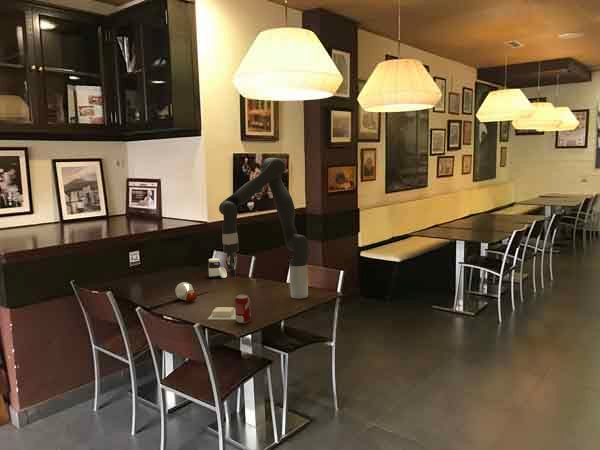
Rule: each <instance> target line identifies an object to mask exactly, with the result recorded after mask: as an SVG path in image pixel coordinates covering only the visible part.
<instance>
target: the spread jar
mask: <svg viewBox="0 0 600 450" xmlns="http://www.w3.org/2000/svg"><path fill="white" fill-rule="evenodd" d="M221 265H222V264H221V261H220V258H218V257H213V258H209V259H208V277H209V278H210V279H219V278H218V277H220V278H221V279H226V278H227V277H228V273H227V270H226V268H225V267H223V266H221Z"/></svg>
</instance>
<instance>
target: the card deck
mask: <svg viewBox="0 0 600 450" xmlns="http://www.w3.org/2000/svg"><path fill="white" fill-rule="evenodd" d="M234 308H235V306H234V307H233V306H232V307H231V306H226V307H223V306H222V307H220V306H218V307H217V306H216V307H215V308H214V309H213V310H212V311H211V315H212V316H224V317H231V316H232V315H233V314H234V312H235V309H234Z"/></svg>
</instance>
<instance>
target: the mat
mask: <svg viewBox="0 0 600 450" xmlns="http://www.w3.org/2000/svg"><path fill="white" fill-rule="evenodd" d="M234 309H235V307H234ZM207 321H236V313H235V312H234V314H233V315H232V316H231V317H224V316H212V314H211V315H209V316H208V318H207Z"/></svg>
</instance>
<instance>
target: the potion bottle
mask: <svg viewBox="0 0 600 450" xmlns="http://www.w3.org/2000/svg"><path fill="white" fill-rule="evenodd" d="M174 290H175V295H176V298H178V299H180V300H183V301H186V302H188V303H190V304H192V303H194V302H195V301H196V300H197V295H196V292H195V290H194V288H193V285H192V284H191V283H189V282H186V281H183V282H180V283H178V284H177V285H176V287H175V289H174Z"/></svg>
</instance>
